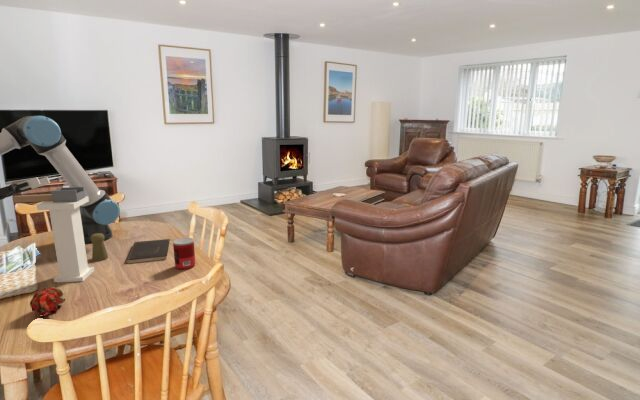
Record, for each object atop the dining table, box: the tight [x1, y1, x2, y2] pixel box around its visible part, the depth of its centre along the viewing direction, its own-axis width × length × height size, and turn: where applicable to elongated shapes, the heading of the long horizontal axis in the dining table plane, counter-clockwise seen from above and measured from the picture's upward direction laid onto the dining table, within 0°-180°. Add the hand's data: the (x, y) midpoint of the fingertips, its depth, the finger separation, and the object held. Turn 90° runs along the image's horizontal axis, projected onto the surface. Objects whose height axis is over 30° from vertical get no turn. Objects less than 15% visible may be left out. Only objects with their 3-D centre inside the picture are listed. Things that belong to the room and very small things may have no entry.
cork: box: [90, 233, 109, 262], centre depth 167 cm, size 6×6×11 cm
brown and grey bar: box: [12, 186, 85, 204], centre depth 142 cm, size 22×7×4 cm, turn 99°
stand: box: [36, 196, 95, 283], centre depth 147 cm, size 12×12×30 cm
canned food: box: [172, 237, 196, 271], centre depth 159 cm, size 8×8×11 cm
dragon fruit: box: [29, 286, 66, 319], centre depth 123 cm, size 8×8×12 cm
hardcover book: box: [125, 238, 171, 264], centre depth 176 cm, size 16×23×2 cm
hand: (43, 180), depth 150 cm, fingers open, 10 cm apart
